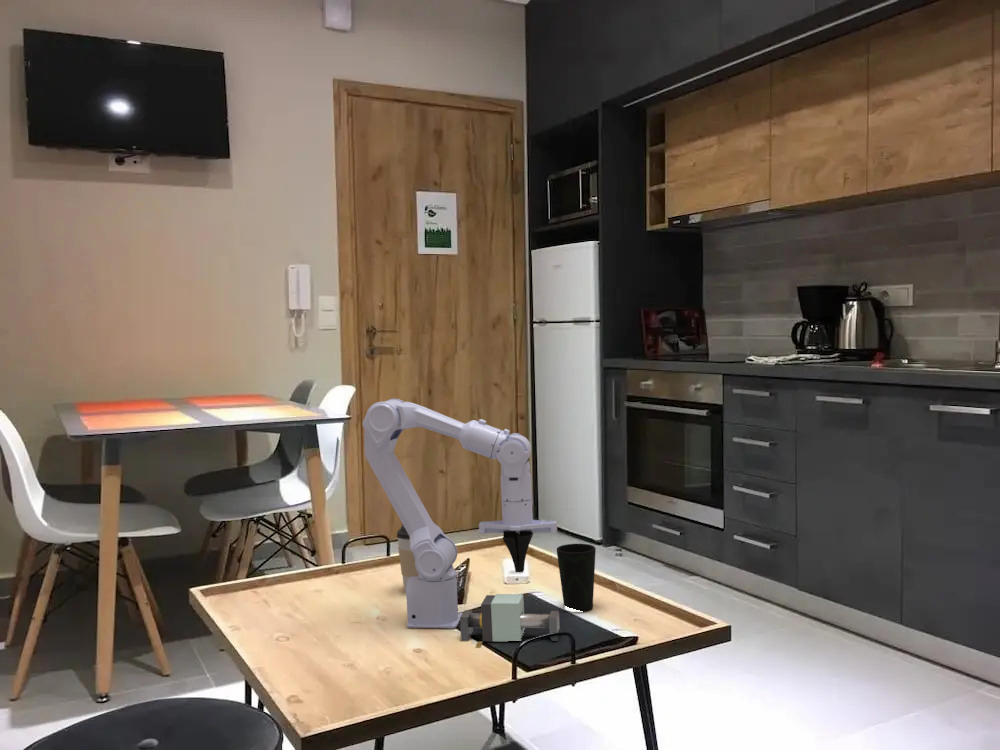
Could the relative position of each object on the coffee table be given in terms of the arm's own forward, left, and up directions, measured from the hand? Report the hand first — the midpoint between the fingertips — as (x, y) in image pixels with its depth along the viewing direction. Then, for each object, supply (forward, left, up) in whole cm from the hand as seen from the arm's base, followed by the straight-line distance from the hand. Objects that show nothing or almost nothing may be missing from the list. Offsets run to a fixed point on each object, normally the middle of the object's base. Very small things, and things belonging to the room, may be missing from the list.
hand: (519, 570), depth 163 cm
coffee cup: (-25, +20, -10) cm, 34 cm away
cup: (+10, +9, -10) cm, 17 cm away
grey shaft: (-1, -10, -10) cm, 14 cm away
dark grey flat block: (-5, -8, -10) cm, 14 cm away
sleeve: (-1, -8, -10) cm, 13 cm away
